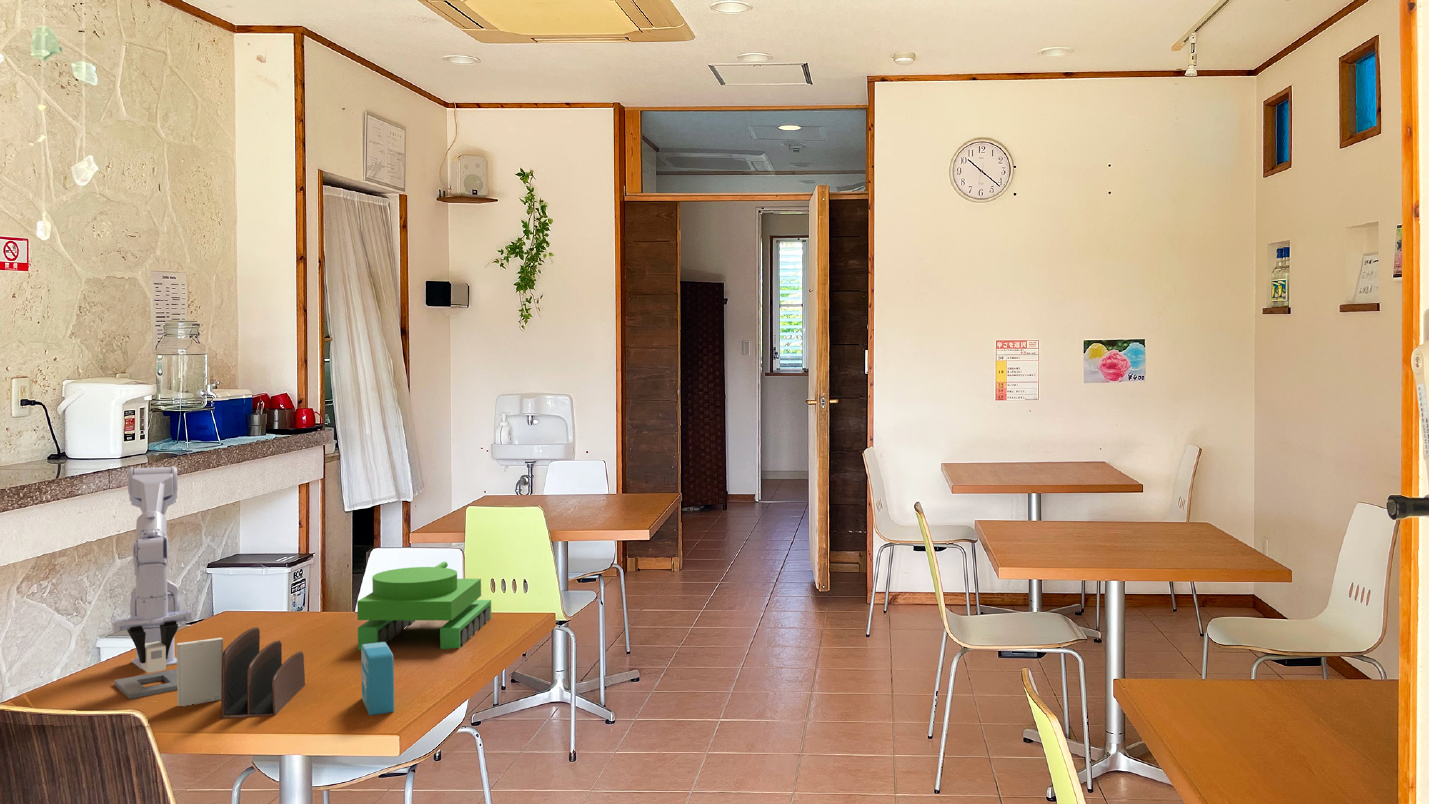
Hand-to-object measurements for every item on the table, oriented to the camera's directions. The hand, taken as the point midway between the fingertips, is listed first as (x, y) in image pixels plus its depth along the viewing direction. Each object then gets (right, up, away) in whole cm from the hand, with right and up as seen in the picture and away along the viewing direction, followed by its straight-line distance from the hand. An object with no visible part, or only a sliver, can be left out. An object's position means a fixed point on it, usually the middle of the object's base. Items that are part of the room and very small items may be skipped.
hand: (153, 660), depth 221 cm
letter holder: (+28, -6, -12) cm, 31 cm away
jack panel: (+5, -5, +4) cm, 8 cm away
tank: (+47, -4, +41) cm, 63 cm away
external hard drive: (+15, -6, -12) cm, 20 cm away
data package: (+52, -6, -16) cm, 55 cm away
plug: (-1, -2, +1) cm, 2 cm away
